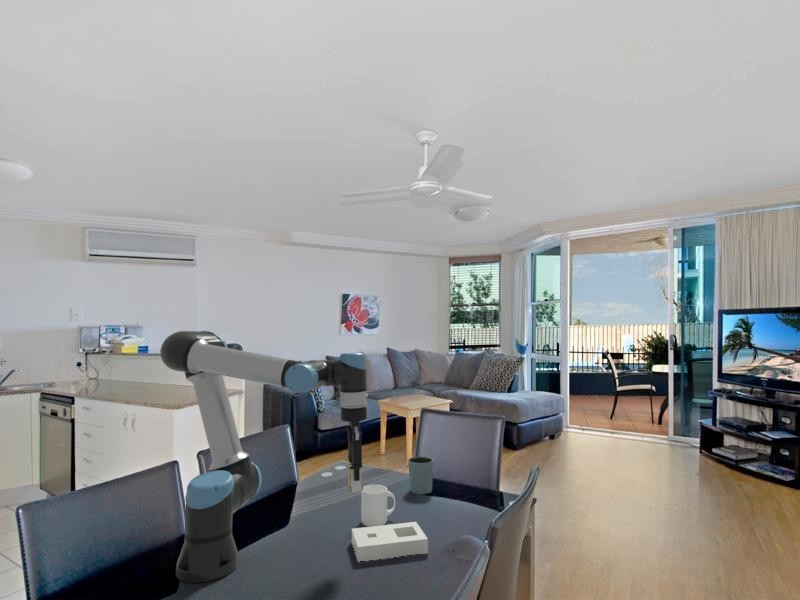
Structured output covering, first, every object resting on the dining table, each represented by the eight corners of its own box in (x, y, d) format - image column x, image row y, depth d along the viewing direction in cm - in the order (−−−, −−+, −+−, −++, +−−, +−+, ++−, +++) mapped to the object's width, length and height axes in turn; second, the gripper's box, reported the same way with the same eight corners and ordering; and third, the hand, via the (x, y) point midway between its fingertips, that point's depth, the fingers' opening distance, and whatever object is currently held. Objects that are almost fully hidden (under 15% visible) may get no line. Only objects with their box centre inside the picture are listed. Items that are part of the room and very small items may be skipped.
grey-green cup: (434, 495, 172) (433, 463, 173) (408, 495, 172) (407, 463, 173) (432, 486, 182) (432, 456, 183) (407, 486, 182) (407, 456, 183)
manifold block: (357, 562, 121) (357, 547, 121) (351, 542, 132) (351, 528, 132) (428, 553, 125) (427, 538, 126) (416, 535, 137) (416, 521, 137)
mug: (400, 523, 146) (400, 489, 147) (366, 529, 141) (366, 494, 142) (390, 513, 154) (390, 481, 155) (357, 519, 149) (357, 486, 150)
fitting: (349, 493, 125) (348, 467, 125) (347, 488, 129) (346, 463, 130) (363, 491, 126) (363, 465, 126) (361, 486, 130) (361, 462, 131)
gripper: (371, 409, 122) (373, 497, 120) (362, 401, 139) (363, 478, 137) (344, 411, 120) (345, 500, 118) (338, 402, 137) (339, 481, 135)
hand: (355, 488), depth 127 cm, fingers closed on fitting, 4 cm apart
